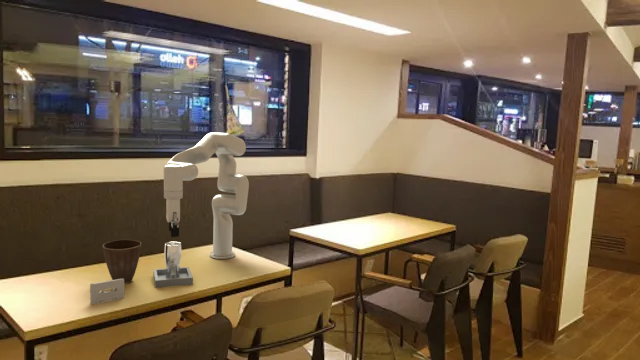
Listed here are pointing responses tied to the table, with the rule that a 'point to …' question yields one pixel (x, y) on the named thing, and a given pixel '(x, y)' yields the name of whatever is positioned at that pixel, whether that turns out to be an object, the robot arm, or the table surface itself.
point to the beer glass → (172, 259)
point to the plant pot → (122, 258)
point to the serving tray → (161, 281)
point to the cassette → (109, 295)
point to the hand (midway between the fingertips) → (173, 233)
